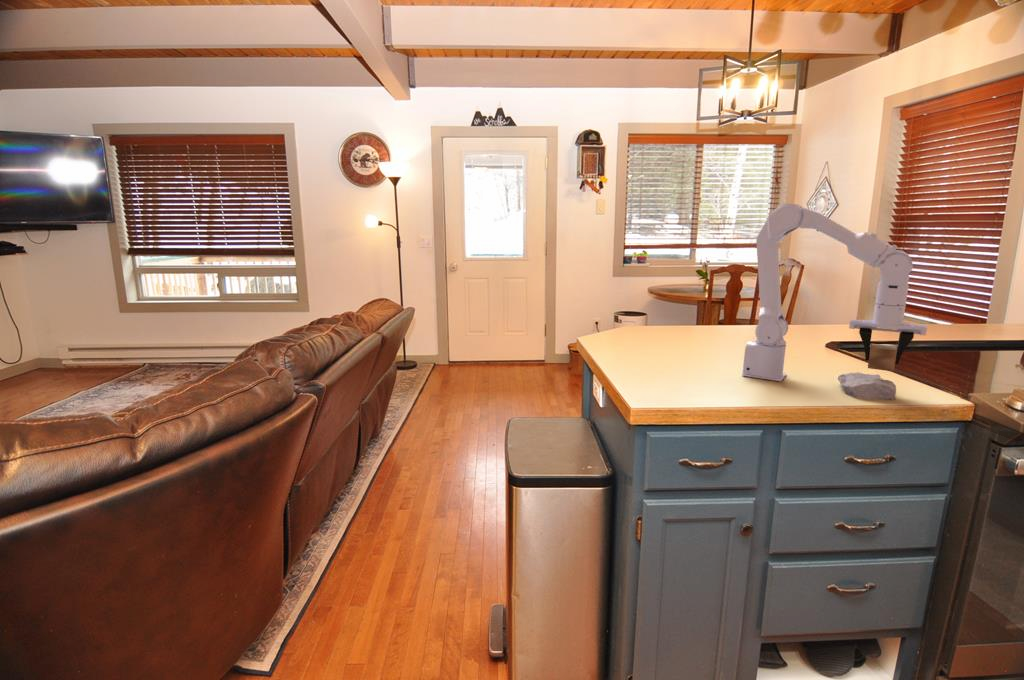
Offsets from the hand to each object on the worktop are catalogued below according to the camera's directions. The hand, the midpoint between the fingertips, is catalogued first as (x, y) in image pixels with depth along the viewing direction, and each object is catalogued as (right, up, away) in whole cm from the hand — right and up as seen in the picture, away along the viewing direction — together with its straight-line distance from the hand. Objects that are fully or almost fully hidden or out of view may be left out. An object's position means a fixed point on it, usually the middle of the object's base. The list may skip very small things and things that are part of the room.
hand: (881, 361), depth 124 cm
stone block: (-3, -8, +3) cm, 9 cm away
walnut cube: (0, -1, 0) cm, 2 cm away
